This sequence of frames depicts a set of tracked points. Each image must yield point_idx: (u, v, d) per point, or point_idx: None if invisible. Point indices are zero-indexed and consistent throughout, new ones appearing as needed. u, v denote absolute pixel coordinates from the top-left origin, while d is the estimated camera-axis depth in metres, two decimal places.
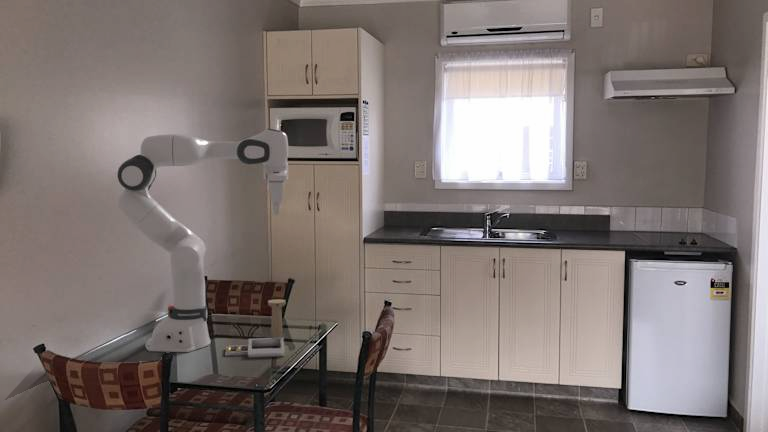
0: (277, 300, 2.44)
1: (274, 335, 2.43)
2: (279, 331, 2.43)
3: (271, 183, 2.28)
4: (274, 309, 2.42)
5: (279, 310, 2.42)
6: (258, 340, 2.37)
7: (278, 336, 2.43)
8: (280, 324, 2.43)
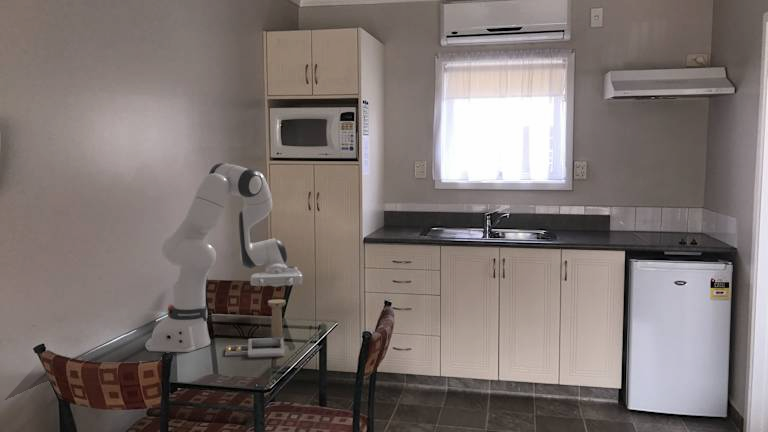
0: (277, 300, 2.44)
1: (274, 335, 2.43)
2: (279, 331, 2.43)
3: None
4: (274, 309, 2.42)
5: (279, 310, 2.42)
6: (258, 340, 2.37)
7: (278, 336, 2.43)
8: (280, 324, 2.43)
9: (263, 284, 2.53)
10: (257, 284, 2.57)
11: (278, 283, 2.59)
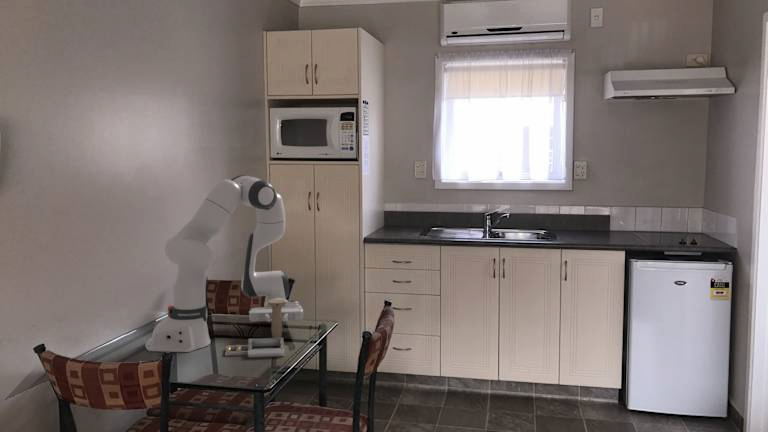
0: (277, 300, 2.44)
1: (274, 335, 2.43)
2: (279, 331, 2.43)
3: None
4: (274, 309, 2.42)
5: (279, 310, 2.42)
6: (258, 340, 2.37)
7: (278, 336, 2.43)
8: (280, 324, 2.43)
9: (269, 320, 2.42)
10: (256, 320, 2.46)
11: None
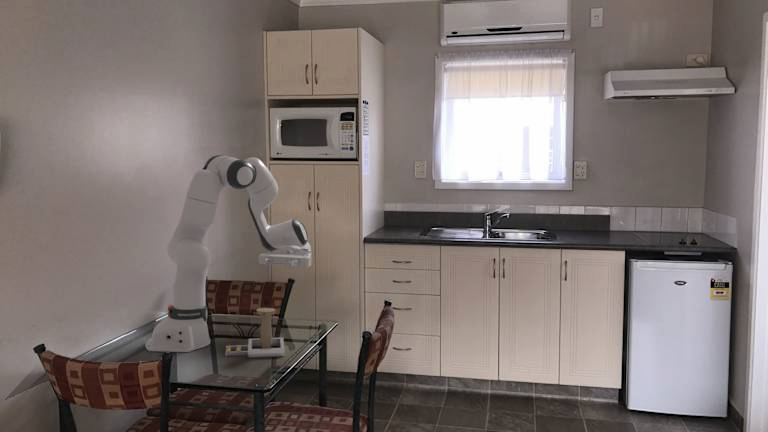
0: (267, 309, 2.32)
1: (262, 345, 2.32)
2: (267, 341, 2.31)
3: None
4: (262, 318, 2.30)
5: (267, 319, 2.30)
6: (258, 340, 2.37)
7: (266, 346, 2.32)
8: (268, 334, 2.31)
9: (265, 262, 2.47)
10: (264, 263, 2.52)
11: (284, 264, 2.51)
